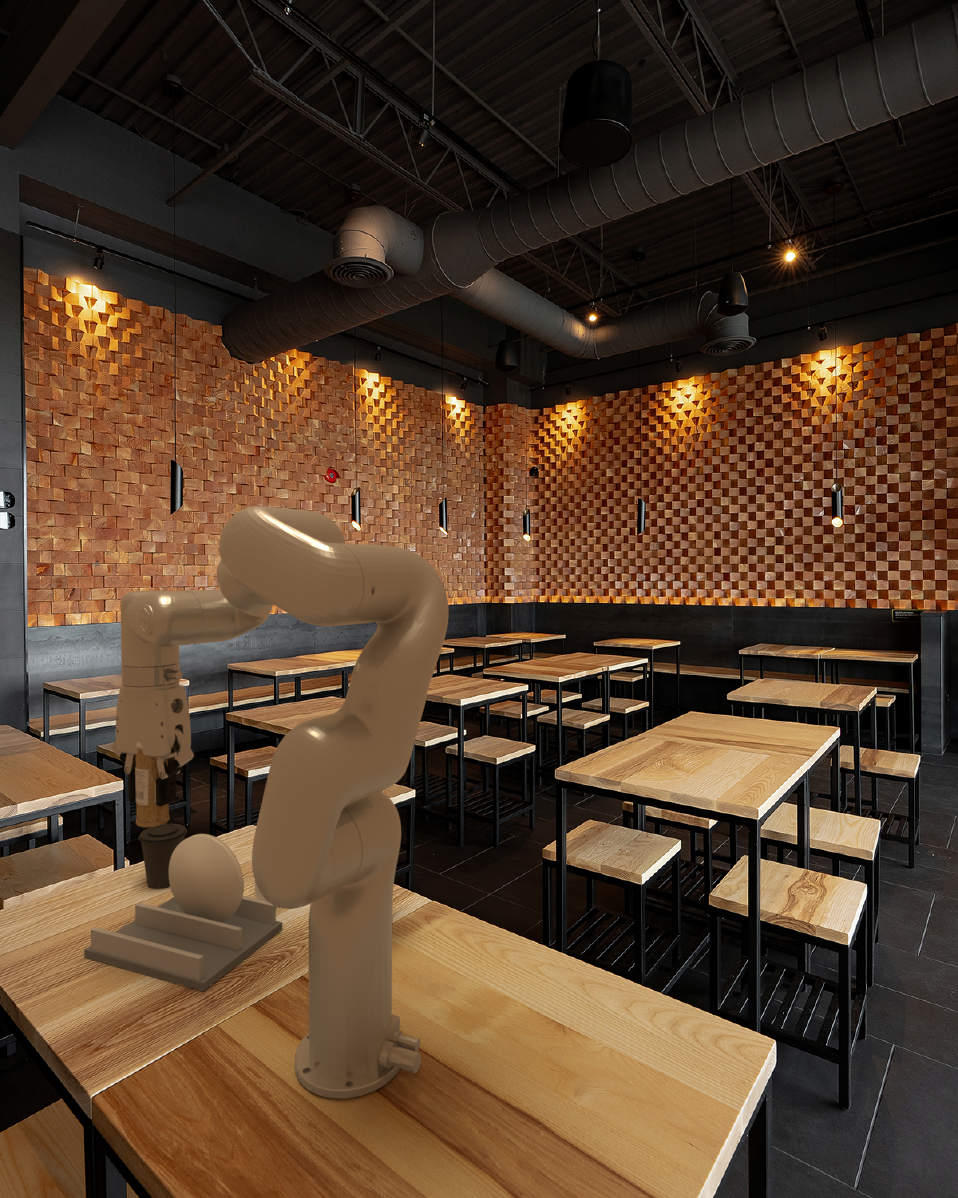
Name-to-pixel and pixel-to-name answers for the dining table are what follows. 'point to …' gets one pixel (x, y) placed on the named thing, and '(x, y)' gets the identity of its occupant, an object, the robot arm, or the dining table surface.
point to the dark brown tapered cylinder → (160, 852)
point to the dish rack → (192, 921)
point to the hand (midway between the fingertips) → (152, 799)
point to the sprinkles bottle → (148, 792)
